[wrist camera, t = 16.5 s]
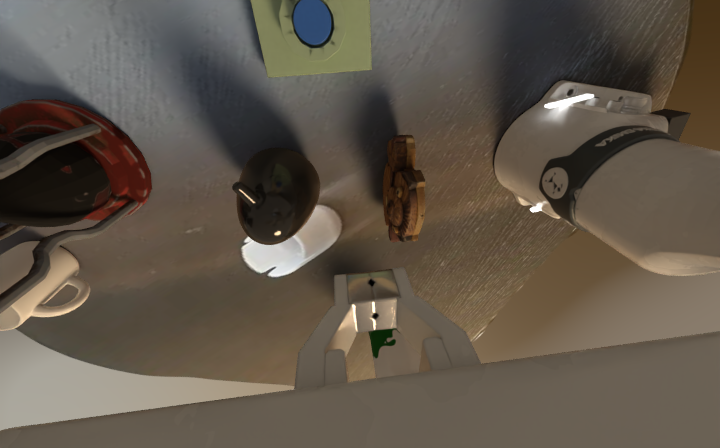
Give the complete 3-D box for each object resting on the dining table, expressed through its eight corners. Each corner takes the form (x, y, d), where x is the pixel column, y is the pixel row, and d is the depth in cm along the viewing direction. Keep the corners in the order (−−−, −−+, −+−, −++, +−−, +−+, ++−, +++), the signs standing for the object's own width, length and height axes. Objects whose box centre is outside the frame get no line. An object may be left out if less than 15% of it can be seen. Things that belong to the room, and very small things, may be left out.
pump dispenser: (299, 126, 35) (282, 167, 22) (331, 190, 41) (333, 252, 28) (233, 155, 36) (182, 209, 23) (273, 213, 42) (249, 283, 29)
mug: (113, 263, 44) (61, 314, 35) (101, 292, 47) (50, 345, 39) (21, 230, 39) (-65, 279, 30) (14, 264, 42) (-67, 318, 34)
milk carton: (388, 332, 62) (409, 433, 46) (359, 319, 59) (371, 424, 42) (414, 312, 59) (447, 413, 43) (385, 297, 55) (409, 401, 39)
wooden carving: (373, 130, 36) (387, 152, 28) (406, 125, 36) (429, 147, 28) (381, 226, 45) (393, 265, 37) (407, 223, 45) (424, 261, 37)
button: (328, -2, 25) (328, -5, 24) (333, 43, 27) (333, 43, 26) (291, 1, 25) (289, -2, 24) (298, 46, 27) (297, 45, 26)
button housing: (365, -32, 27) (370, -44, 24) (369, 68, 32) (373, 70, 29) (249, -25, 26) (237, -36, 23) (271, 76, 31) (264, 78, 28)
